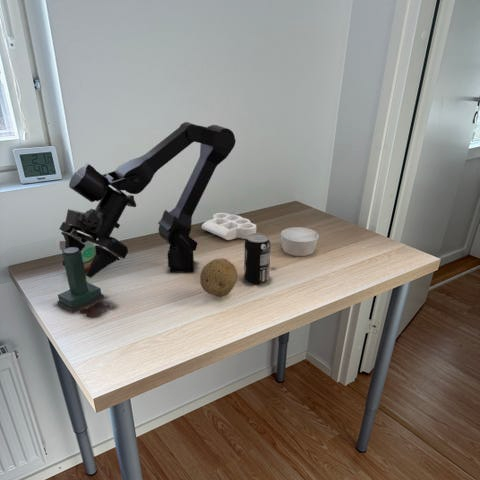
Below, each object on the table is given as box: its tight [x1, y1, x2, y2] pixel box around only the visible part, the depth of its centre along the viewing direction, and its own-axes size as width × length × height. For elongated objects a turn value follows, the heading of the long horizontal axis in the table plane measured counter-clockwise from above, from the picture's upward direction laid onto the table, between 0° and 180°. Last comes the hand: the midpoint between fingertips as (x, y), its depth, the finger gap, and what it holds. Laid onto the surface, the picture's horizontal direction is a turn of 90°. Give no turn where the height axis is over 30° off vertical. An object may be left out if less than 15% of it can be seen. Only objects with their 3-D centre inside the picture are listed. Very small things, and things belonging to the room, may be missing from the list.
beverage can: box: [243, 232, 272, 286], centre depth 120 cm, size 7×7×12 cm
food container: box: [59, 240, 96, 274], centre depth 125 cm, size 12×6×10 cm, turn 168°
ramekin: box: [280, 226, 320, 257], centre depth 138 cm, size 11×11×5 cm
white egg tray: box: [201, 212, 257, 241], centre depth 151 cm, size 3×18×15 cm
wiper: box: [56, 247, 105, 314], centre depth 109 cm, size 9×6×13 cm, turn 142°
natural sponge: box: [199, 257, 238, 298], centre depth 112 cm, size 9×9×10 cm
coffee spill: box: [79, 300, 115, 319], centre depth 110 cm, size 7×6×1 cm
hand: (76, 271), depth 108 cm, fingers open, 9 cm apart
